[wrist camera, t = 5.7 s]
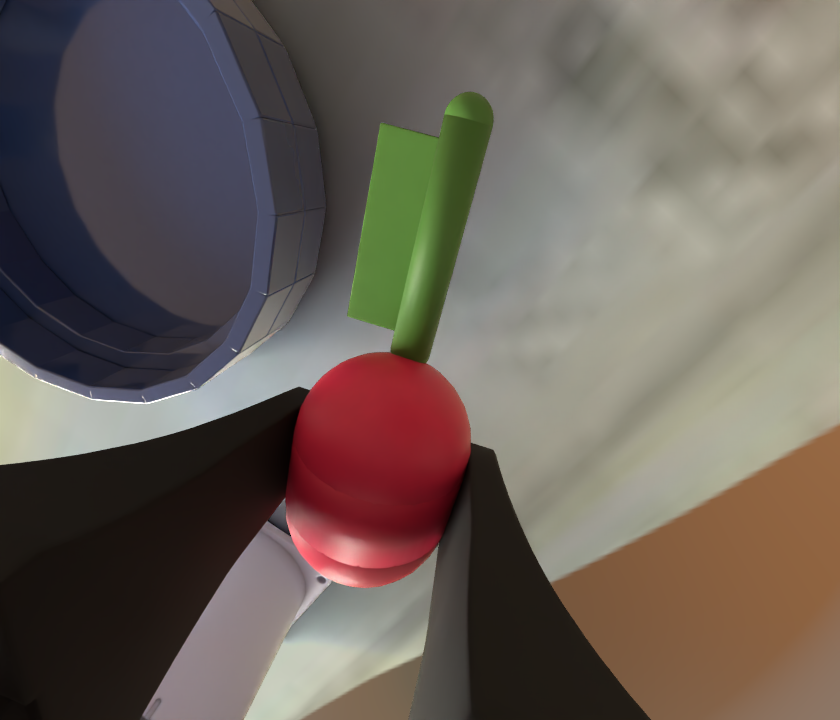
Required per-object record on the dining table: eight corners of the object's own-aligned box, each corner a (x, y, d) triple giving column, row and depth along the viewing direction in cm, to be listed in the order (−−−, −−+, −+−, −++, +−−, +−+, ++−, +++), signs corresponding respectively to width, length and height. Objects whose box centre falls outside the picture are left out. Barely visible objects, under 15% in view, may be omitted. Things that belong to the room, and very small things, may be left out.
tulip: (439, 521, 13) (410, 652, 10) (317, 479, 14) (245, 591, 10) (578, 127, 8) (622, 95, 5) (386, 78, 9) (296, 14, 5)
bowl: (238, 420, 20) (178, 474, 17) (-47, 228, 19) (-175, 241, 16) (411, 107, 14) (373, 84, 10) (-8, -209, 13) (-214, -358, 9)
